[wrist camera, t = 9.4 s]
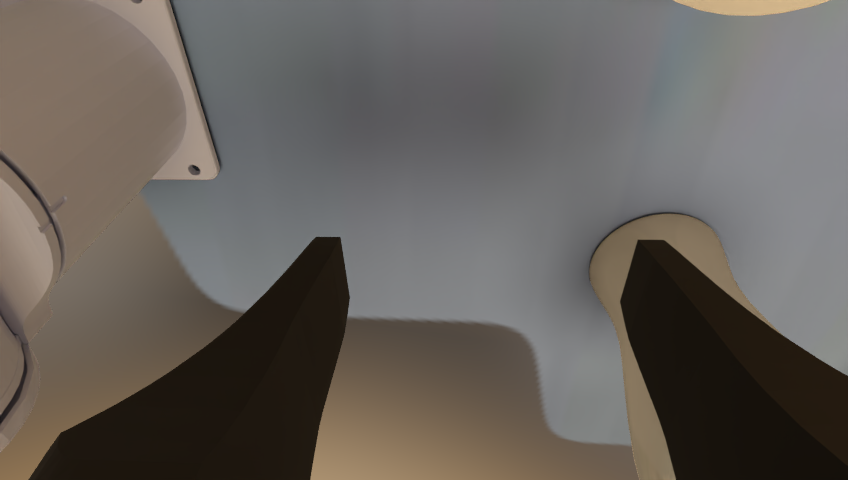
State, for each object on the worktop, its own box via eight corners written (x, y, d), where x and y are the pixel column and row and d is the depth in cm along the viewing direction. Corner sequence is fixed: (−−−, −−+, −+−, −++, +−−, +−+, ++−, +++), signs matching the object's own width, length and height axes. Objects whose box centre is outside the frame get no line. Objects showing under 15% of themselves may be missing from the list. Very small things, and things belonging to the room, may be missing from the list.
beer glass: (555, 294, 27) (637, 658, 15) (626, 185, 22) (820, 567, 11) (674, 326, 28) (840, 690, 16) (762, 227, 23) (1080, 619, 12)
